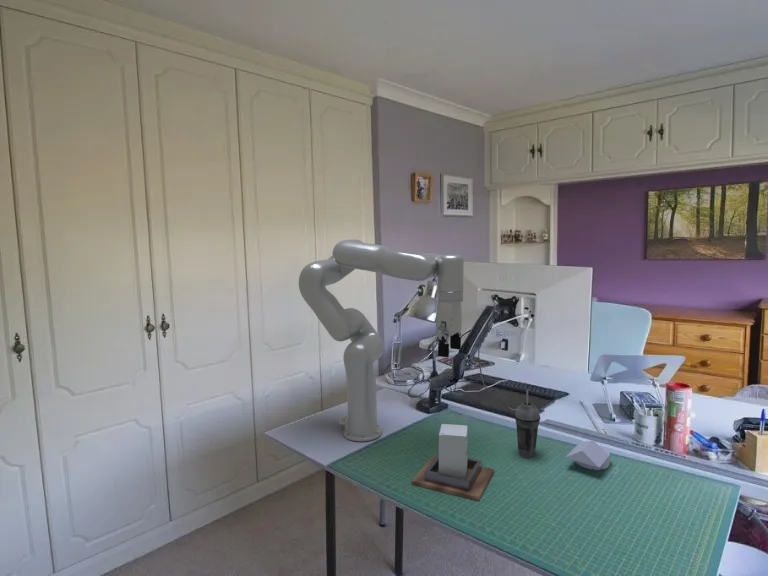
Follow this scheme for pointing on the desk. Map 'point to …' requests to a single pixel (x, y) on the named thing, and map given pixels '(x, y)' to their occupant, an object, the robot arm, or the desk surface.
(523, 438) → the beverage cup
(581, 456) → the grey faceted rock
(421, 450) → the desk surface
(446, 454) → the supplement box
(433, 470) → the collar board
